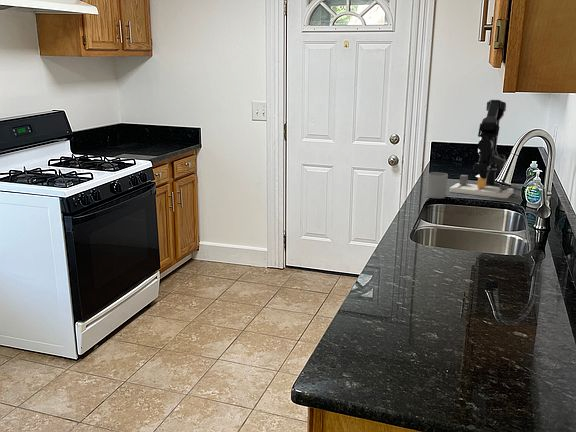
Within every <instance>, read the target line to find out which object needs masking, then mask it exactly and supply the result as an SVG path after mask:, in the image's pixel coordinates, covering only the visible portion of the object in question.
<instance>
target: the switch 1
mask: <svg viewBox="0 0 576 432" xmlns="http://www.w3.org/2000/svg"><path fill="white" fill-rule="evenodd" d="M458 183H459V184H462V185H467V184H469V175H468V174H461V175H459V182H458Z"/></svg>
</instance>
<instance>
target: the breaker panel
mask: <svg viewBox="0 0 576 432" xmlns="http://www.w3.org/2000/svg"><path fill="white" fill-rule="evenodd" d="M477 185H478V184H474V183H473V184H472V183H468V184H467V185H462V184H459V182H457V183H455V184H454V185H452V186H450V187H449V190H448V191H449V193H457V194H463V195H465V194H466V195H474V196H482V197H488V198H489V197H490V198H497V199H508V198H509V197H510V196H511V195H513V194H514V188H511V187H508V189H500V186H491V185H486V187H485V188H477Z"/></svg>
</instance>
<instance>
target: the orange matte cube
mask: <svg viewBox="0 0 576 432" xmlns="http://www.w3.org/2000/svg"><path fill="white" fill-rule="evenodd" d="M486 180H487V178H480V177H478V178H477V184H476V185H477V188H485V187H486V186H487V184H486Z"/></svg>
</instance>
